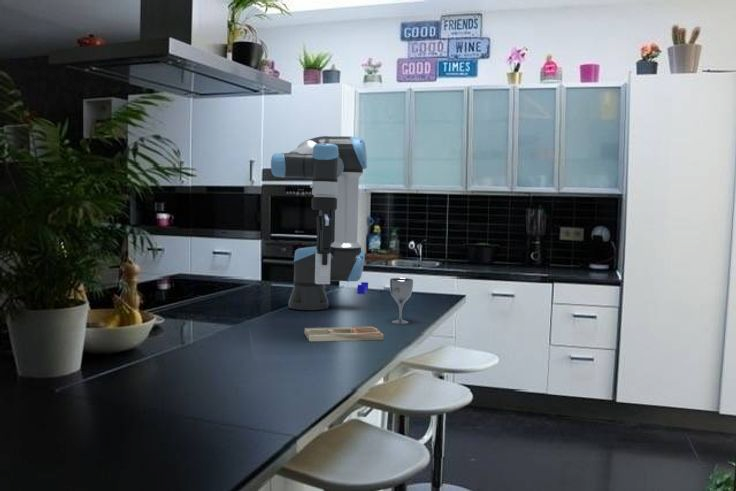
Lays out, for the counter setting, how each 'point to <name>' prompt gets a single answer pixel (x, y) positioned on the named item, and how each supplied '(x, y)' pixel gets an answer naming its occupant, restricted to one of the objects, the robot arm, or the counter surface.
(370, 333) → the hole rail
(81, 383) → the counter surface
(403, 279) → the wine glass
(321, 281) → the steel peg
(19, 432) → the counter surface
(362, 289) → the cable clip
